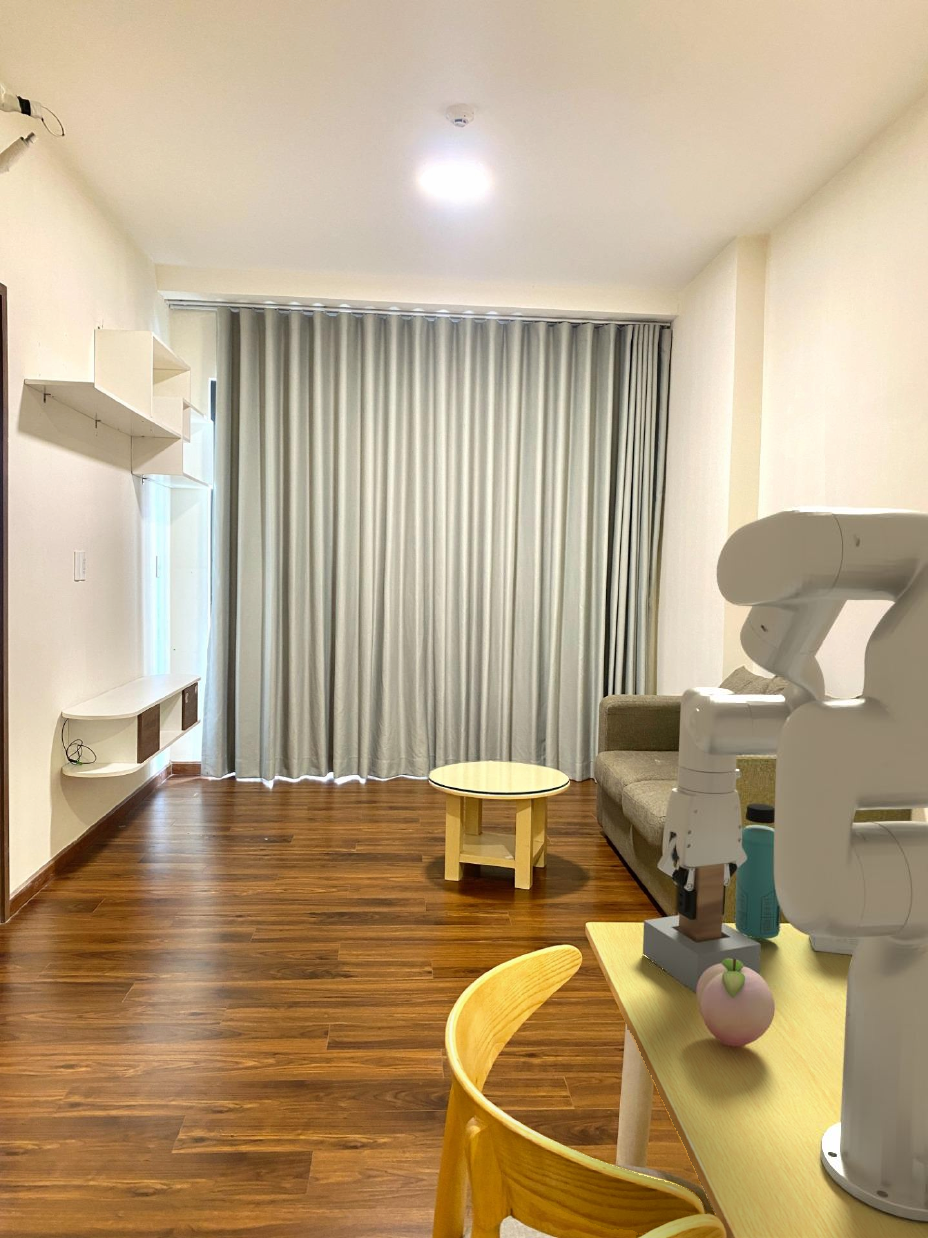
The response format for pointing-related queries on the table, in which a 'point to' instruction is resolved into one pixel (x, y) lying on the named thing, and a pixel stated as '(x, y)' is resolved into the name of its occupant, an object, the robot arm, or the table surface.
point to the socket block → (695, 950)
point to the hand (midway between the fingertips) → (700, 912)
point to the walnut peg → (706, 905)
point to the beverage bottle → (757, 878)
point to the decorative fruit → (735, 1003)
